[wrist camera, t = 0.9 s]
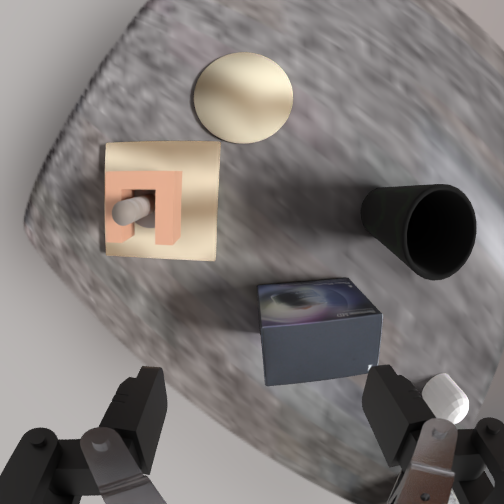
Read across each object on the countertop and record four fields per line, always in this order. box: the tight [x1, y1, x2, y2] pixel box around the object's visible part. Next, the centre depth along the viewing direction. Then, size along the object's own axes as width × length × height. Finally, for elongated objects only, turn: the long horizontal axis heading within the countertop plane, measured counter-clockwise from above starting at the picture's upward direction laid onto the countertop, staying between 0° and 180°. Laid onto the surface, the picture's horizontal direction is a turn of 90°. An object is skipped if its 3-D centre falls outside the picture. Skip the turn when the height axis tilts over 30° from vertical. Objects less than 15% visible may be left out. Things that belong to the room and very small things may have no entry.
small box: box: [257, 278, 383, 386], centre depth 31 cm, size 11×6×10 cm, turn 94°
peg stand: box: [105, 141, 221, 261], centre depth 27 cm, size 12×12×11 cm
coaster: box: [194, 52, 293, 144], centre depth 30 cm, size 10×10×1 cm
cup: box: [361, 184, 476, 280], centre depth 28 cm, size 8×8×12 cm
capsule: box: [422, 373, 469, 424], centre depth 36 cm, size 5×5×8 cm
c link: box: [105, 171, 182, 245], centre depth 27 cm, size 6×6×4 cm
